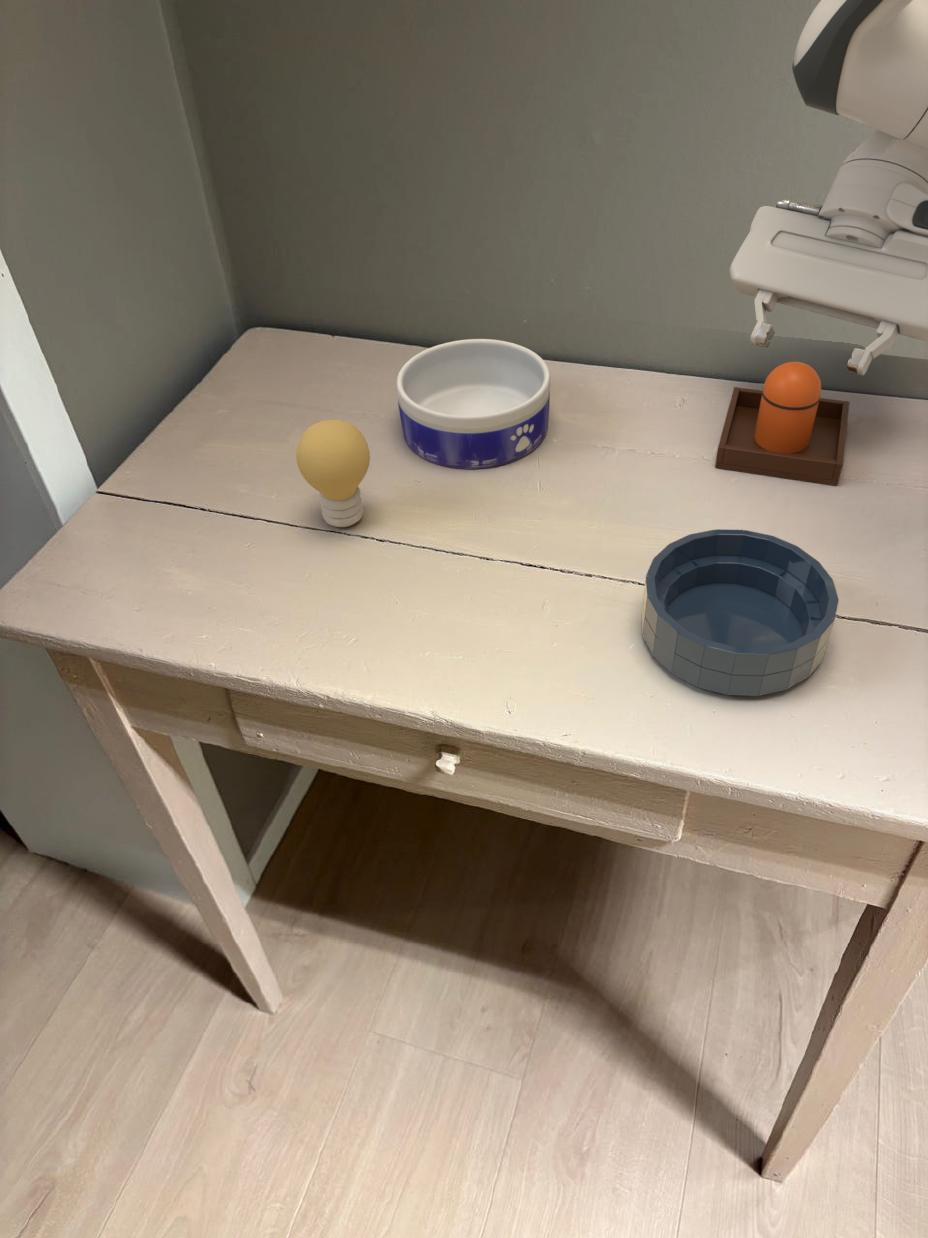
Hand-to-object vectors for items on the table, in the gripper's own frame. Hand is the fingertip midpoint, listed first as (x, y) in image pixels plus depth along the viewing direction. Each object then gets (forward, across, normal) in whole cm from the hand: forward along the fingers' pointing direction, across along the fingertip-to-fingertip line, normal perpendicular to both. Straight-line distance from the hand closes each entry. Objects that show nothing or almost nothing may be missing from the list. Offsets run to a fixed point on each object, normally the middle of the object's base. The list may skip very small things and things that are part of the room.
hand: (805, 357), depth 89 cm
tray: (+7, 0, +4) cm, 9 cm away
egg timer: (+7, 0, +4) cm, 8 cm away
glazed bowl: (+26, +8, -14) cm, 31 cm away
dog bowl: (+18, -27, -5) cm, 33 cm away
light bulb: (+31, -28, -19) cm, 46 cm away
